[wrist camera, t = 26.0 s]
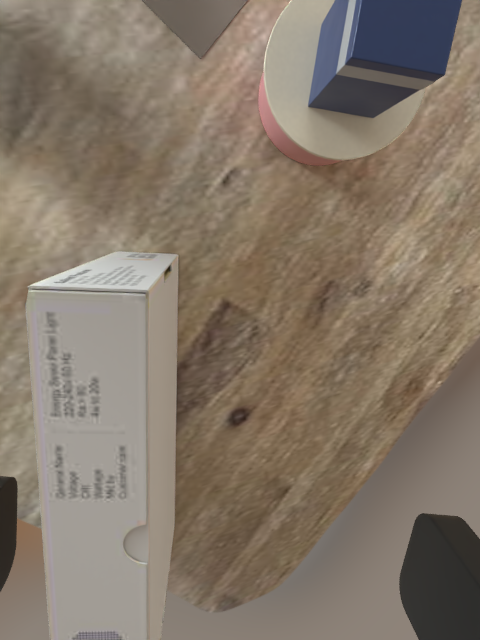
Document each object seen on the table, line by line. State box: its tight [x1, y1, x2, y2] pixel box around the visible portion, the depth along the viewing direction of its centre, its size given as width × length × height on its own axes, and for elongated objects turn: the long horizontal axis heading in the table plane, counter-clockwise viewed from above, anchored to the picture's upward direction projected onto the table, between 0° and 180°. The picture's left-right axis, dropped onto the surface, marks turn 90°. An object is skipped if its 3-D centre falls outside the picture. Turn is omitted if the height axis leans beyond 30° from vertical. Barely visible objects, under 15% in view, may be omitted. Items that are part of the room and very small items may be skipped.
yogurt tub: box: [259, 0, 426, 166], centre depth 34 cm, size 12×12×8 cm
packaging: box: [25, 251, 179, 640], centre depth 34 cm, size 30×6×20 cm, turn 177°
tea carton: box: [308, 0, 462, 118], centre depth 26 cm, size 5×6×10 cm
